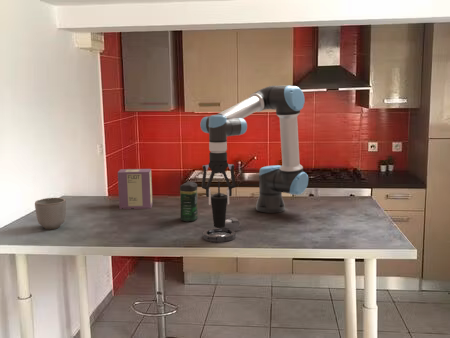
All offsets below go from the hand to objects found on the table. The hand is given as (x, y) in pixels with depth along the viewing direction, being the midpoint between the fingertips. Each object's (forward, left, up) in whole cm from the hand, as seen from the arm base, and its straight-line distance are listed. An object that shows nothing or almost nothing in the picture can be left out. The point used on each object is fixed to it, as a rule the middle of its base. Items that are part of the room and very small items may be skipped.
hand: (218, 203), depth 227 cm
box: (+40, -61, -15) cm, 75 cm away
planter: (+77, -26, -15) cm, 83 cm away
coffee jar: (+12, -31, -15) cm, 37 cm away
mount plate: (0, 0, -15) cm, 15 cm away
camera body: (-5, -11, -15) cm, 19 cm away
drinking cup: (0, 0, -10) cm, 10 cm away
